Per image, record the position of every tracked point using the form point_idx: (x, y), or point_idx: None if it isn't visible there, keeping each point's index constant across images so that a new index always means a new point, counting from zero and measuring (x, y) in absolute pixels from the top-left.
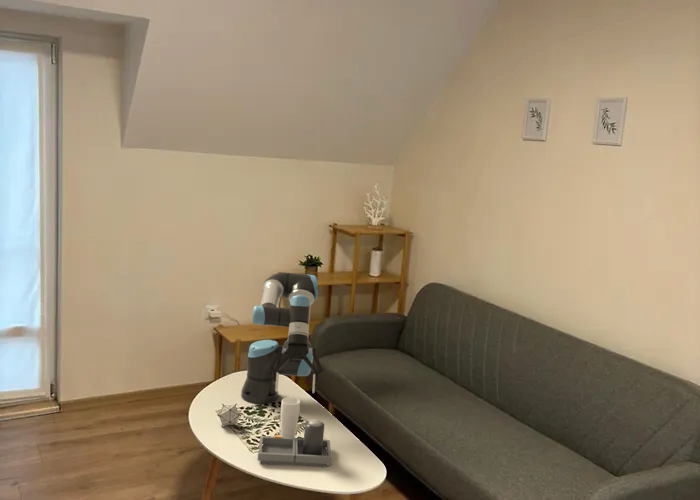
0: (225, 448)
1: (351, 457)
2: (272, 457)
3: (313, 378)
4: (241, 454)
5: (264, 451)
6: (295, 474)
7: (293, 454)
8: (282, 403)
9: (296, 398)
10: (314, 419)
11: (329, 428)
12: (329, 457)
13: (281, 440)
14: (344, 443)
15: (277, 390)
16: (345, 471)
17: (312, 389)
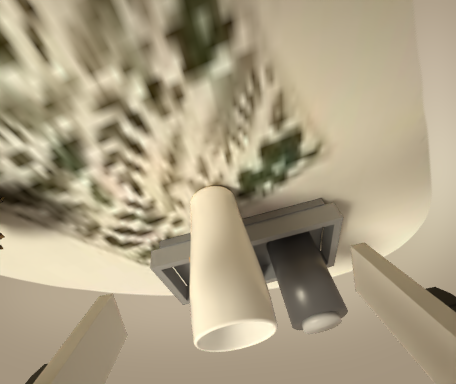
0: (85, 277)
1: (379, 206)
2: None
3: (426, 368)
4: (134, 278)
5: (180, 268)
6: None
7: None
8: (204, 344)
9: (257, 321)
10: (322, 320)
11: (357, 67)
12: (328, 266)
13: None
14: (383, 155)
15: (122, 322)
16: None
17: (363, 262)
